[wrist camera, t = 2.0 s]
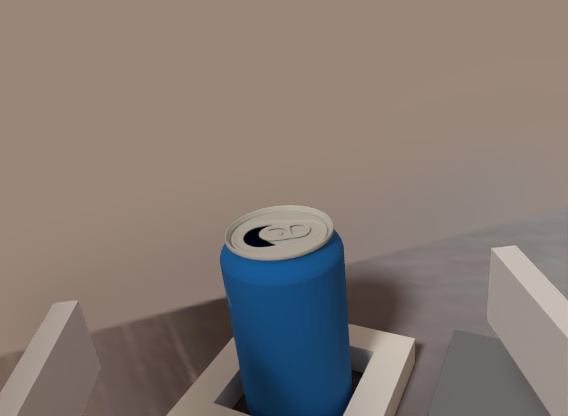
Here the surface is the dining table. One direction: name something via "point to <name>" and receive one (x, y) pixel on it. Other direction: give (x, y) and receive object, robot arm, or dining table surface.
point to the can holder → (364, 358)
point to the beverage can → (289, 311)
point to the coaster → (482, 381)
